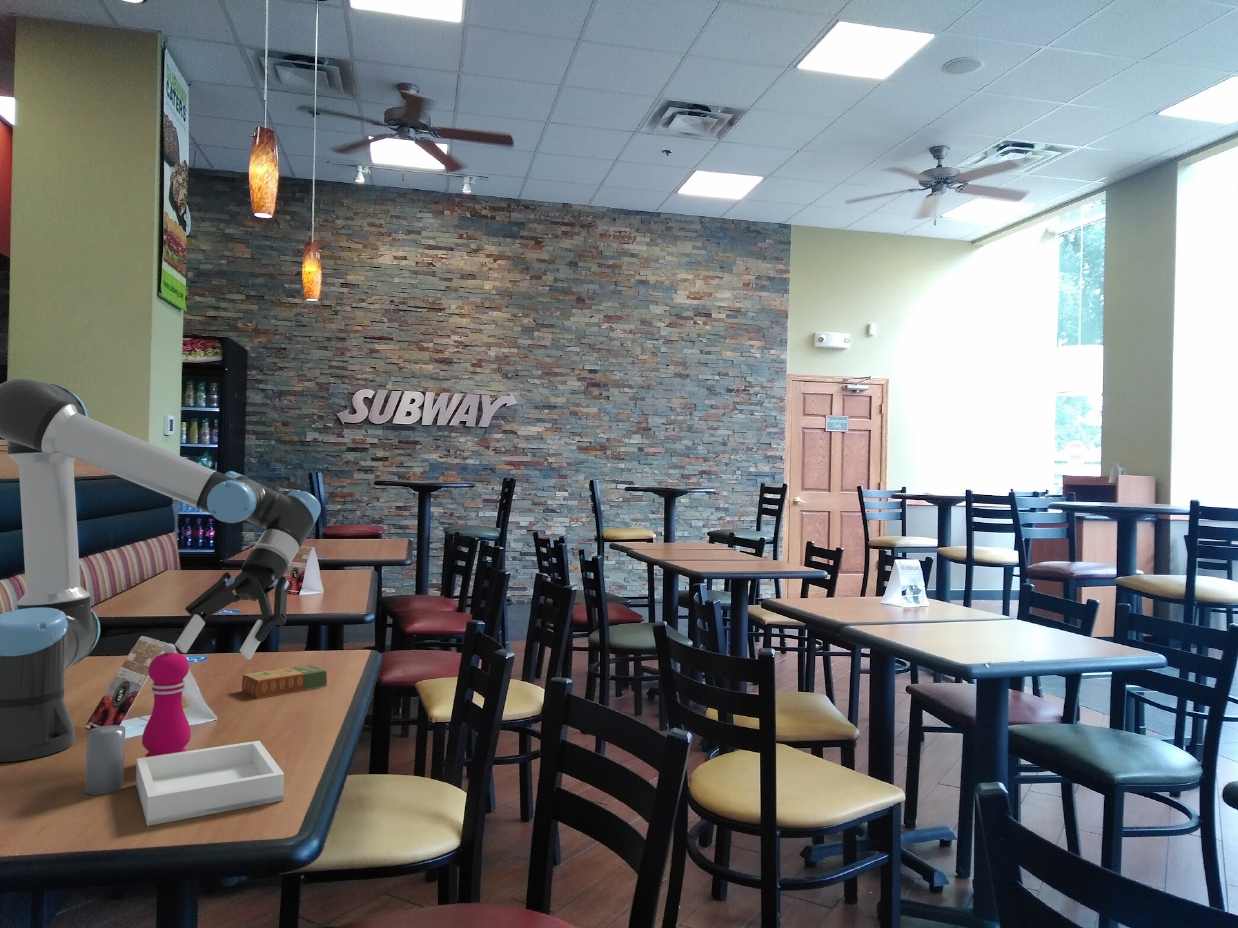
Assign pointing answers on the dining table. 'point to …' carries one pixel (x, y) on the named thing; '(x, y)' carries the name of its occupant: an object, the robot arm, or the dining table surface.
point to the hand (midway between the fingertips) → (212, 651)
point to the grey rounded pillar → (105, 759)
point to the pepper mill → (167, 705)
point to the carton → (283, 681)
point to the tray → (207, 781)
